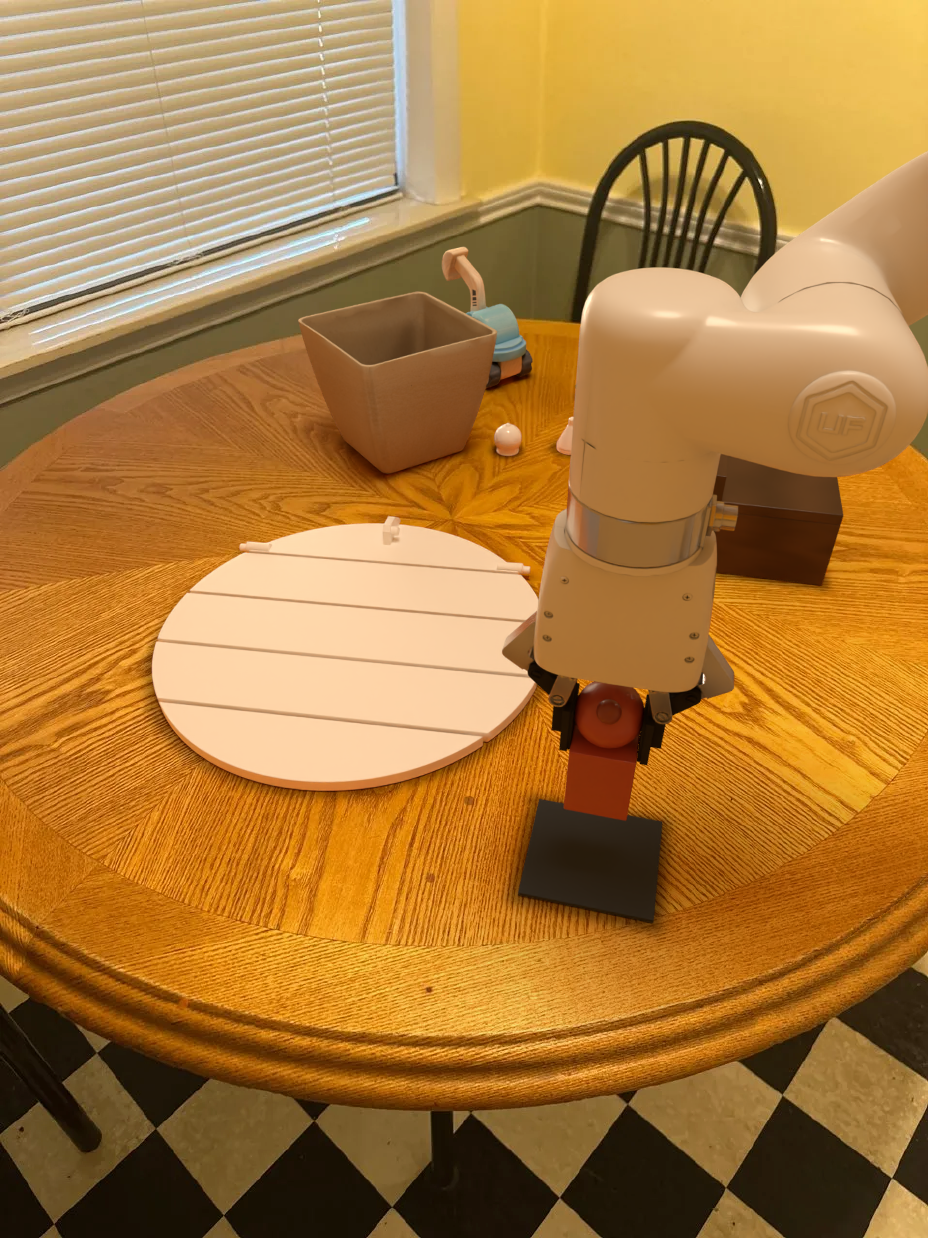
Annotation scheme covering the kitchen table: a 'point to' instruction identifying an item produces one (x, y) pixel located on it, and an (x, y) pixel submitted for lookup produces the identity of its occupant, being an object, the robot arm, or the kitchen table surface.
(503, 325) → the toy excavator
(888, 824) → the kitchen table surface
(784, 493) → the wooden box with backboard
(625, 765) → the ball-topped red block
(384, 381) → the flower pot
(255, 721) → the round plank board
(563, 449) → the decorative object set
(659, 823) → the mat
